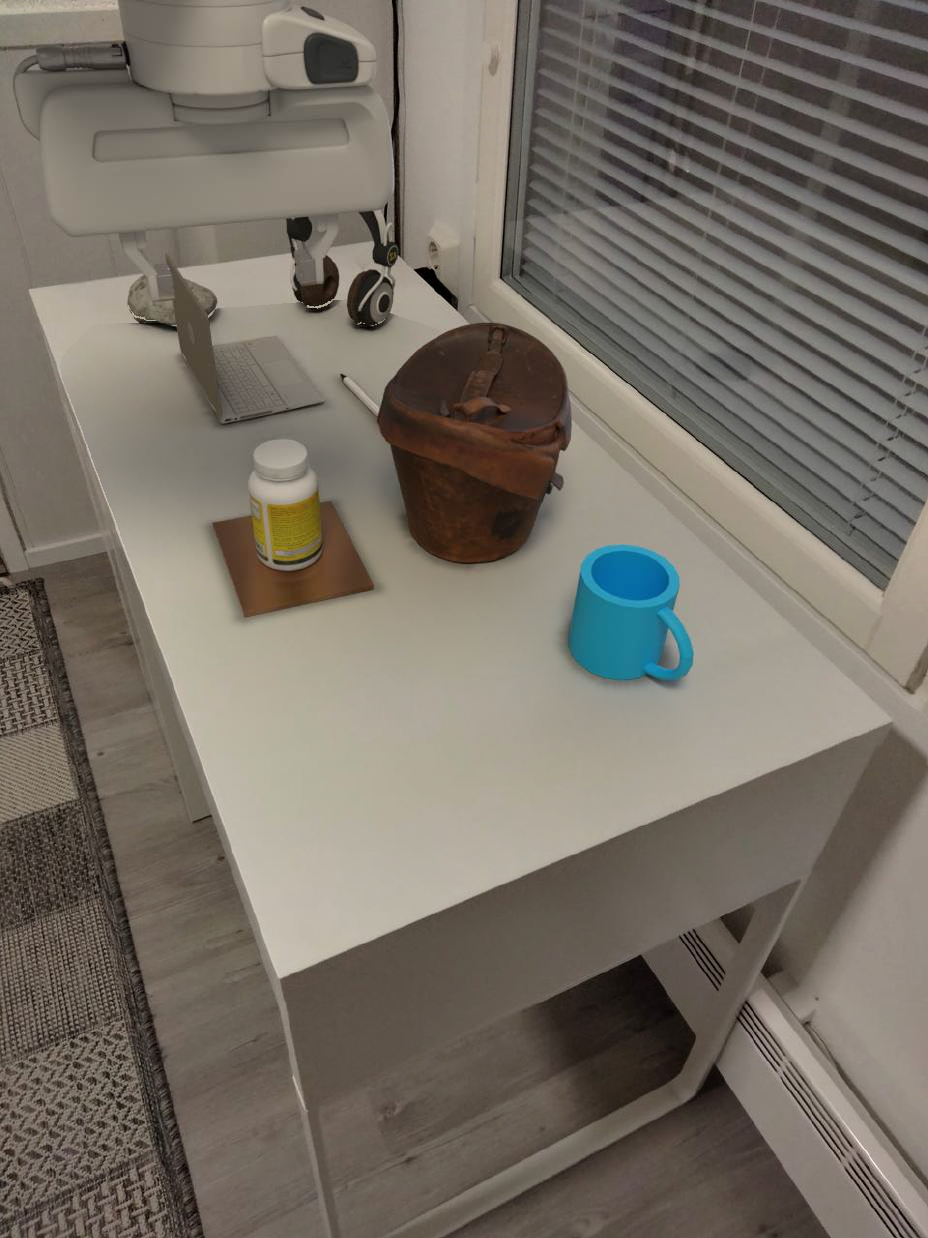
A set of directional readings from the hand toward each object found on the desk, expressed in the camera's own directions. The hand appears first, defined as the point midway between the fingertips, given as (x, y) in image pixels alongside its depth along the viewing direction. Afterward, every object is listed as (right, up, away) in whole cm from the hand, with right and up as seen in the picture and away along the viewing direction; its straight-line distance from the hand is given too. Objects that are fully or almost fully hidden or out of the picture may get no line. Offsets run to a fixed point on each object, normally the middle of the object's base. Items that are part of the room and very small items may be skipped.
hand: (237, 289), depth 60 cm
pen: (+4, +3, +50) cm, 50 cm away
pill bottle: (-2, -15, +29) cm, 33 cm away
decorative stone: (-25, +19, +66) cm, 73 cm away
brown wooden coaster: (-2, -15, +29) cm, 33 cm away
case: (+15, -12, +34) cm, 39 cm away
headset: (-2, +20, +69) cm, 72 cm away
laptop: (-11, +8, +54) cm, 56 cm away
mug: (+29, -25, +21) cm, 44 cm away
